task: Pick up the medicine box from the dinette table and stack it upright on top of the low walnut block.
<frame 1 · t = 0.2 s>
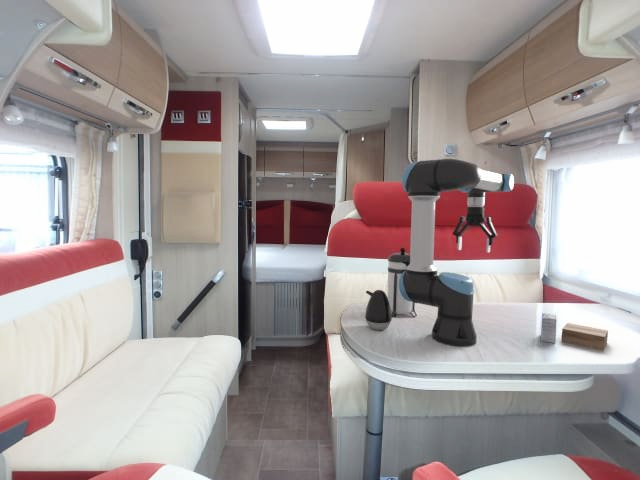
hand: (473, 251, 170), 28 cm above the table, tool pointing down, fingers open, 13 cm apart
walnut block: (584, 343, 128), on the table
medicine box: (547, 339, 130), on the table
pump dispenser: (377, 328, 139), on the table
coffee press: (398, 313, 161), on the table
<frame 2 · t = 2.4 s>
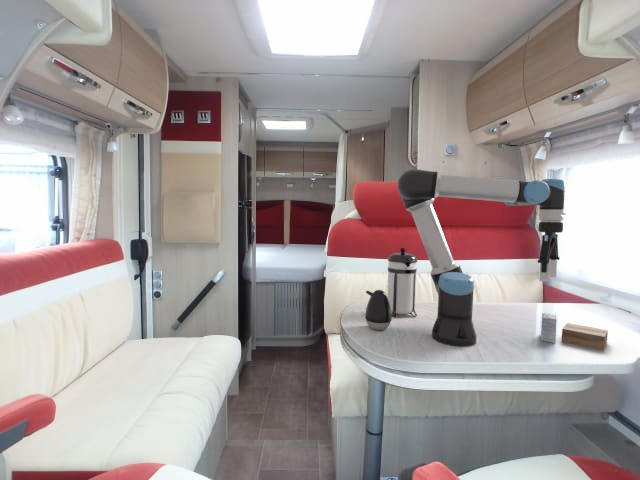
hand: (548, 279, 131), 22 cm above the table, tool pointing down, fingers open, 13 cm apart
nothing on the table moved.
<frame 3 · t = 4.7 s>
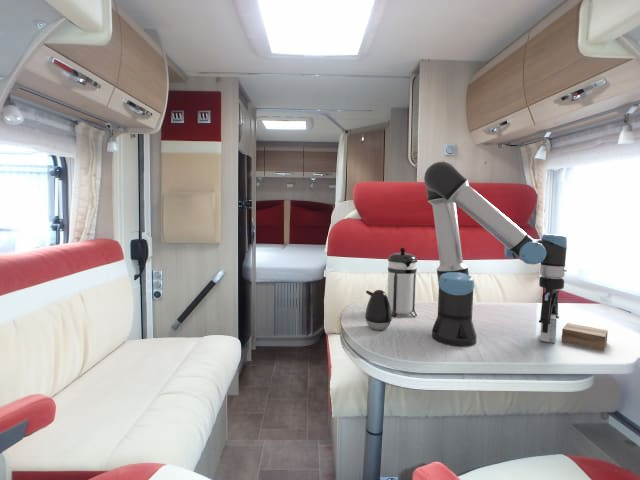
hand: (547, 337, 130), 0 cm above the table, tool pointing down, fingers closed on medicine box, 8 cm apart
medicine box: (547, 339, 130), on the table, touching gripper
everything else where it was.
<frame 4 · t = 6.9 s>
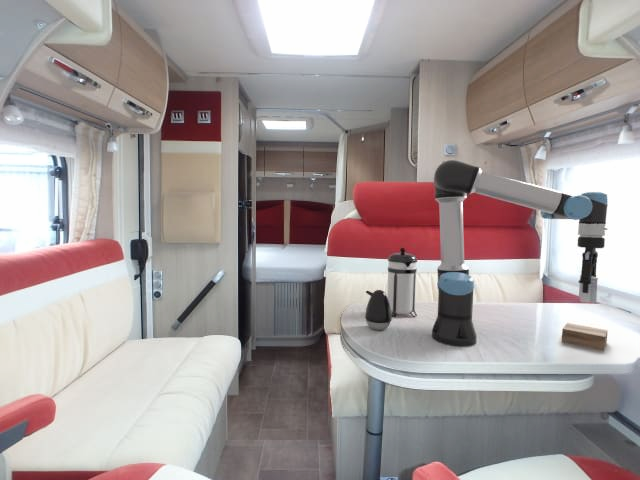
hand: (587, 299, 126), 15 cm above the table, tool pointing down, fingers closed on medicine box, 8 cm apart
medicine box: (587, 301, 126), point 15 cm above the table, touching gripper
everything else where it was.
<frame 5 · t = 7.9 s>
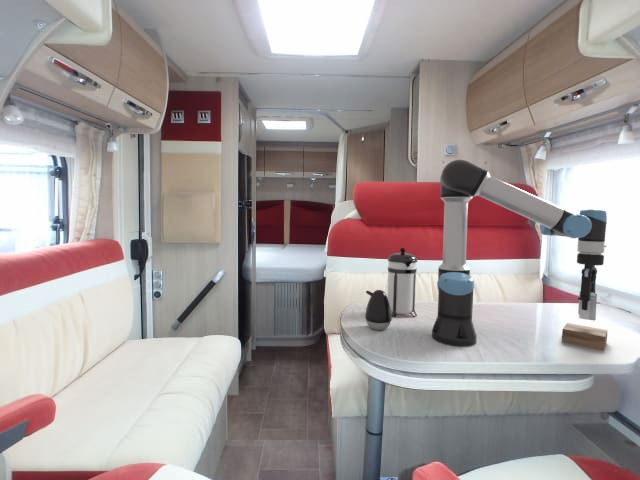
hand: (586, 316, 127), 10 cm above the table, tool pointing down, fingers closed on medicine box, 8 cm apart
medicine box: (586, 317, 127), point 9 cm above the table, touching gripper
everything else where it was.
when the fingers open (6 cm above the table, at t = 8.9 s): medicine box drops 1 cm, resting on walnut block.
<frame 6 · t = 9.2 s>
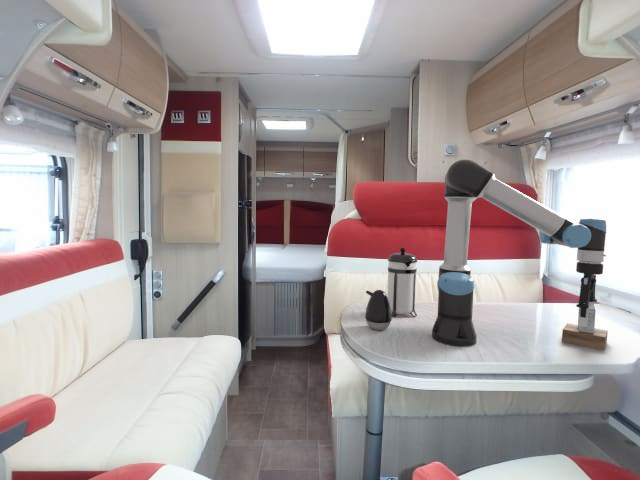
hand: (585, 322, 127), 7 cm above the table, tool pointing down, fingers open, 11 cm apart
walnut block: (584, 343, 128), on the table, touching medicine box
medicine box: (585, 330, 127), point 4 cm above the table, touching walnut block
everything else where it was.
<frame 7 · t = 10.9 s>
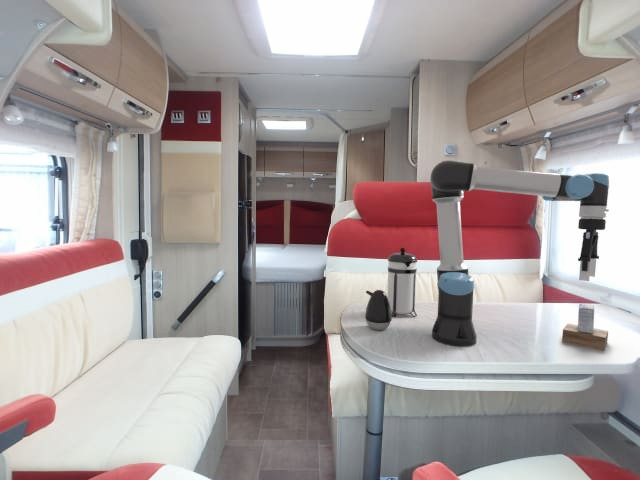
hand: (587, 278, 126), 23 cm above the table, tool pointing down, fingers open, 13 cm apart
nothing on the table moved.
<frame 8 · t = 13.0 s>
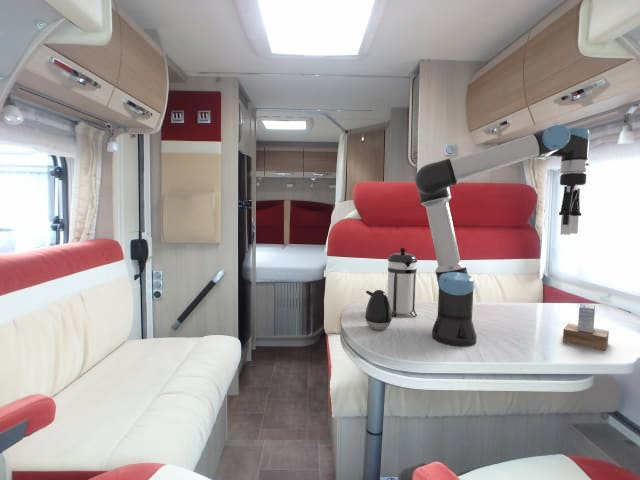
hand: (569, 234, 126), 39 cm above the table, tool pointing down, fingers open, 13 cm apart
walnut block: (585, 343, 127), on the table
medicine box: (585, 330, 127), point 4 cm above the table
everything else where it was.
at the end: medicine box inside the target area on the walnut block (0.2 cm from its centre), point 4.8 cm above the walnut block's base; medicine box tilted 0°; the gripper is holding nothing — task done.
